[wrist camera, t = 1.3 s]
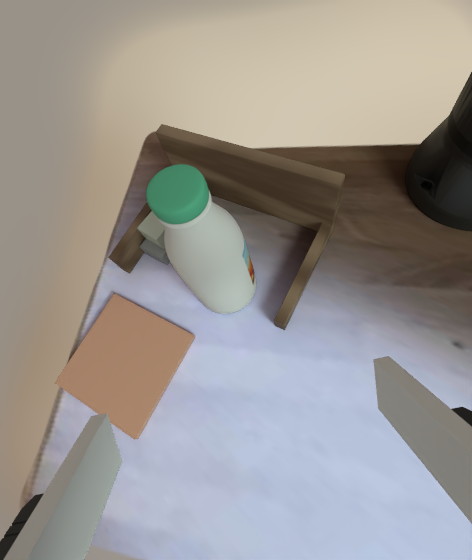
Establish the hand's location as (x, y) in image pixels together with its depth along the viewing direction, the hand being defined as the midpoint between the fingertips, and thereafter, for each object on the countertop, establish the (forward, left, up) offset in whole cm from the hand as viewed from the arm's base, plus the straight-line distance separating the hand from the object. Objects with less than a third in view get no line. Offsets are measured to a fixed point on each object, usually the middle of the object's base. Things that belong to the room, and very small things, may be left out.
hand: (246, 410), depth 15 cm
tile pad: (+3, -19, -21) cm, 28 cm away
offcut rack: (-16, -15, -21) cm, 30 cm away
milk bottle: (-11, -12, -21) cm, 27 cm away
